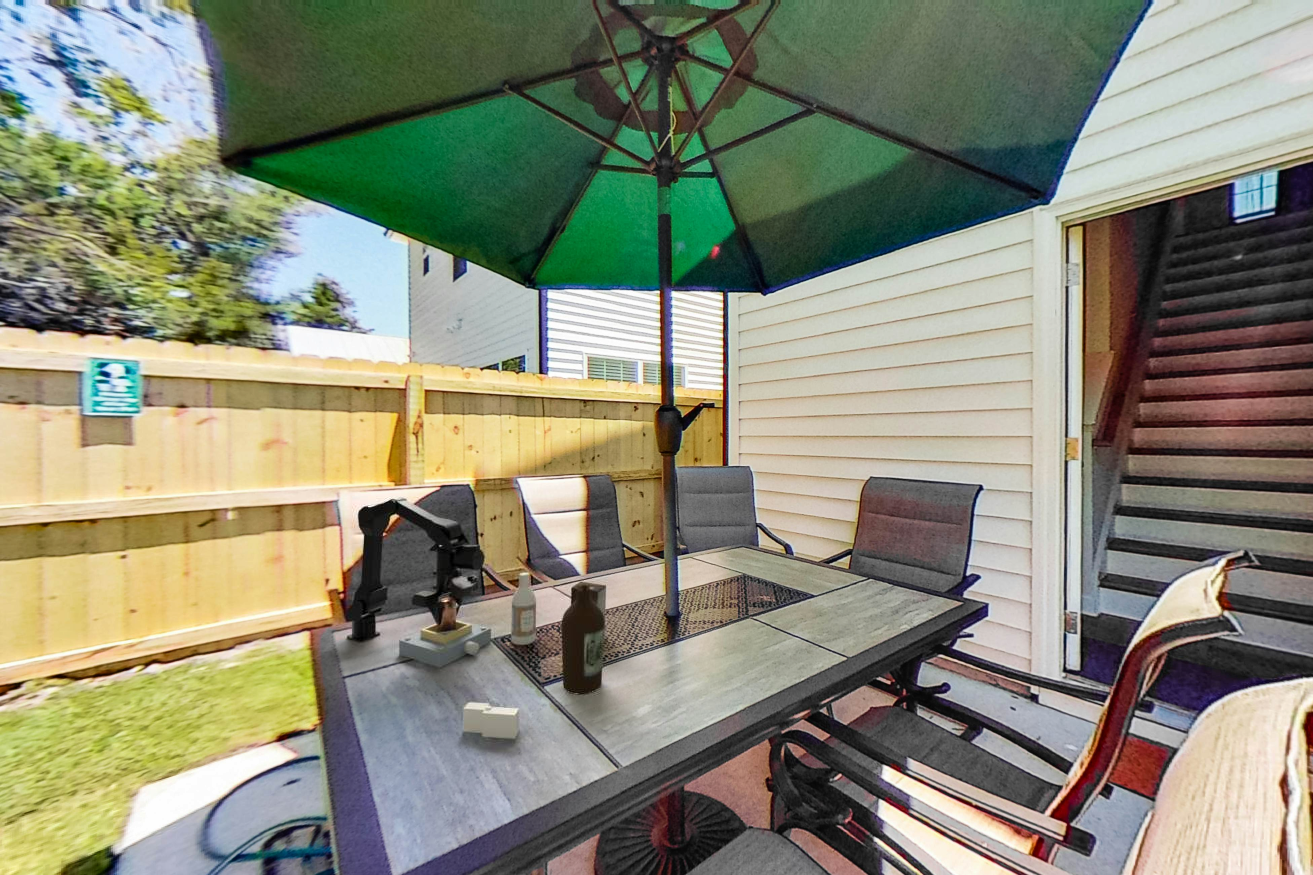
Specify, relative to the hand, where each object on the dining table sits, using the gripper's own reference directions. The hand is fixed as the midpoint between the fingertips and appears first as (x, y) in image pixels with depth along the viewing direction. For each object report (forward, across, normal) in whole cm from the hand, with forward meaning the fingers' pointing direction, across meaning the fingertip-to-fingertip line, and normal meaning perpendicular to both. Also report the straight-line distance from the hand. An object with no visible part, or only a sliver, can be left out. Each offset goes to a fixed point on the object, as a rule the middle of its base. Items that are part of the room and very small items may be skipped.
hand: (446, 621), depth 142 cm
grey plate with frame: (+8, 0, -2) cm, 8 cm away
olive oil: (+8, +1, -46) cm, 47 cm away
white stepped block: (+8, -23, -40) cm, 47 cm away
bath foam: (+8, +14, -16) cm, 23 cm away
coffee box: (+8, +24, -32) cm, 41 cm away
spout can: (+2, 0, 0) cm, 2 cm away
